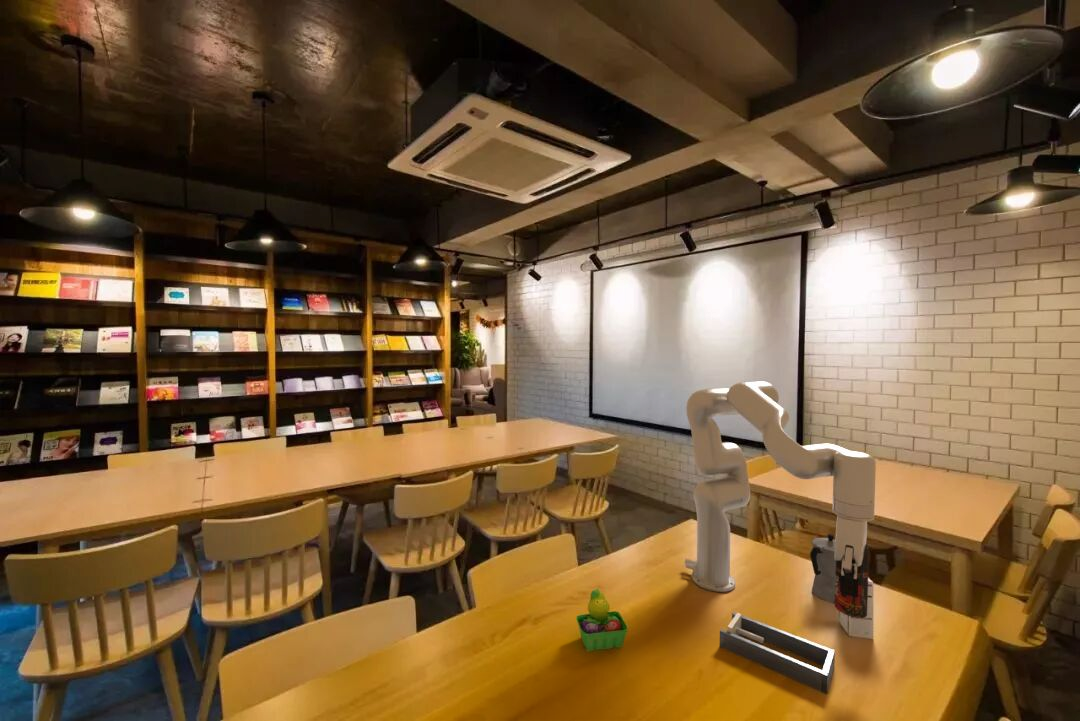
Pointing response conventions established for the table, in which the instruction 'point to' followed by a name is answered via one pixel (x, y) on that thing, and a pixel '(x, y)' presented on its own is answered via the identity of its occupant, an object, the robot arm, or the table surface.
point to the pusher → (736, 629)
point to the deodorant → (858, 604)
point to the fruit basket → (601, 624)
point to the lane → (780, 661)
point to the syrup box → (860, 619)
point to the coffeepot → (824, 568)
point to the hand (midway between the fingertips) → (850, 587)
